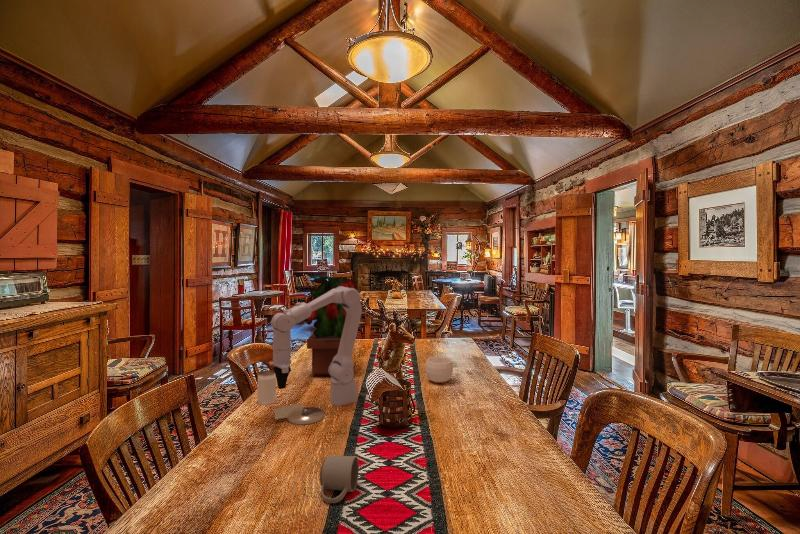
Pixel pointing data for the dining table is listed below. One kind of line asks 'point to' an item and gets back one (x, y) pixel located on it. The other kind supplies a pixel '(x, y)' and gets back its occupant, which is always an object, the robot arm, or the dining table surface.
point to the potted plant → (326, 325)
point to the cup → (439, 369)
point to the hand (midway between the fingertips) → (281, 388)
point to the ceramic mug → (339, 475)
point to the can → (266, 387)
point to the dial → (299, 414)
